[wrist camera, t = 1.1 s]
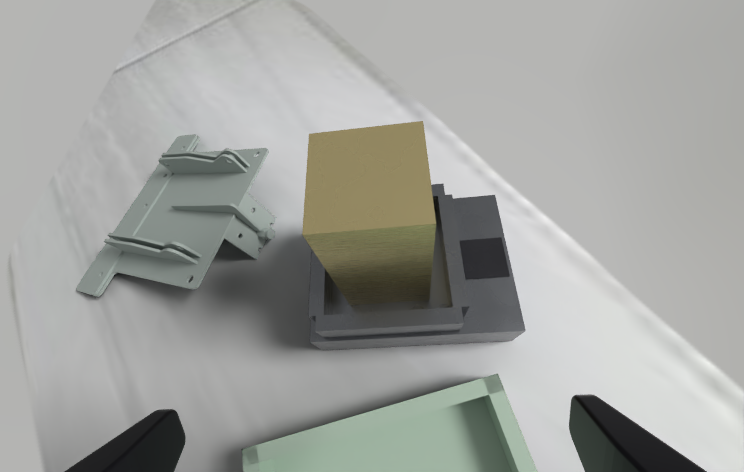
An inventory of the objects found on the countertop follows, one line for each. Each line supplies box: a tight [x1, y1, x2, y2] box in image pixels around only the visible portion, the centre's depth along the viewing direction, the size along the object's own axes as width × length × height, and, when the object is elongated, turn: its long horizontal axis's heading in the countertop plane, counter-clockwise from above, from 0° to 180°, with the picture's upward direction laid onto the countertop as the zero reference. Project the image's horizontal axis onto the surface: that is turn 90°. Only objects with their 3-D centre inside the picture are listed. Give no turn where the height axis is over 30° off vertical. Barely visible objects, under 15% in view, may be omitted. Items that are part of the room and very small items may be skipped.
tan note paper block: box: [302, 121, 436, 305], centre depth 17 cm, size 4×4×9 cm
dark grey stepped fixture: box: [308, 184, 525, 350], centre depth 21 cm, size 8×12×5 cm
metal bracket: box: [77, 135, 276, 297], centre depth 27 cm, size 14×6×15 cm
